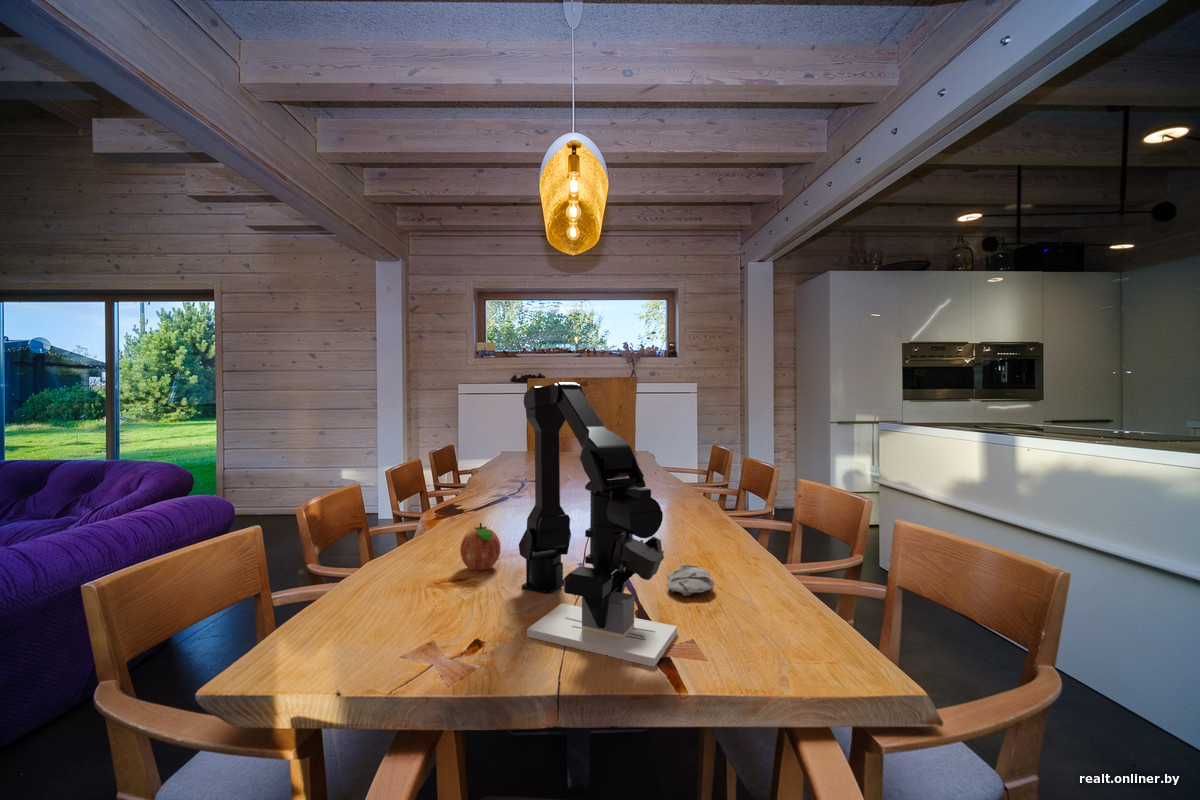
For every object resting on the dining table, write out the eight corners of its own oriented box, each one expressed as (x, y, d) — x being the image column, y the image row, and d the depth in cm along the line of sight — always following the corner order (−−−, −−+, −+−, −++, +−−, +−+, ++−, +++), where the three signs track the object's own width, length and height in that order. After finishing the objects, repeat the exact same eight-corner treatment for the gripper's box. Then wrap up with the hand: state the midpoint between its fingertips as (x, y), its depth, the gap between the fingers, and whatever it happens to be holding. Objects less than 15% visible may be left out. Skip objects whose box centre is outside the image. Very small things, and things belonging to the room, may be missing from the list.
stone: (717, 602, 94) (717, 584, 94) (667, 600, 94) (667, 582, 94) (708, 579, 106) (708, 563, 106) (664, 577, 106) (664, 561, 106)
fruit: (459, 577, 106) (459, 529, 106) (461, 563, 115) (461, 519, 115) (501, 574, 108) (501, 527, 108) (499, 560, 117) (499, 517, 117)
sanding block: (581, 629, 79) (581, 597, 79) (594, 618, 83) (594, 587, 83) (623, 638, 76) (623, 605, 76) (634, 626, 80) (634, 594, 80)
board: (527, 636, 79) (527, 628, 79) (561, 610, 89) (561, 603, 89) (654, 667, 70) (654, 658, 70) (677, 633, 80) (677, 626, 80)
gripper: (635, 545, 68) (634, 661, 68) (675, 515, 85) (674, 608, 85) (562, 534, 72) (561, 643, 73) (614, 508, 89) (613, 596, 89)
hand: (607, 621), depth 80 cm, fingers closed on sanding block, 4 cm apart
